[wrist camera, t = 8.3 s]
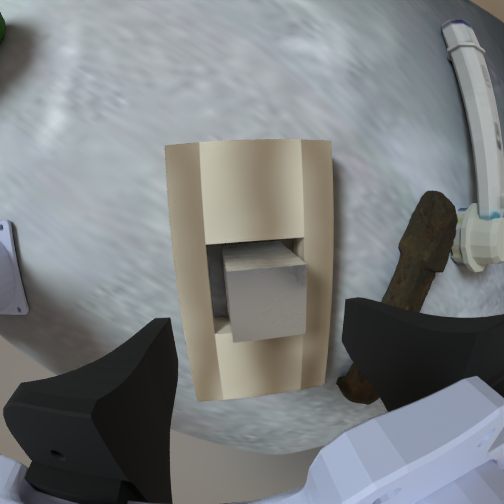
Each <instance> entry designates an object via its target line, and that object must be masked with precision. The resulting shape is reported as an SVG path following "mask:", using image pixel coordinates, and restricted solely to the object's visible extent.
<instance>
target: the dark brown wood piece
mask: <svg viewBox="0 0 504 504" xmlns="http://www.w3.org/2000/svg"><path fill="white" fill-rule="evenodd" d="M457 223H458V217H457V214H456V210H455V206H454V205H453V204H452V202H451V201H450V200H449V199H448V198H446V197H445V196H444V194H443V193H441V192H438V191H427V192H426V193H425V194H424V195H423V196H422V197H421V199H420V201H419V203H418V205H417V207H416V209H415V211H414V212H413V214H412V217H411V219H410V221H409V224H408V226H407V229H406V231H405V233H404V235H403V237H402V239H401V241H400V243H399V247H398V248H399V250H400V252H401V254H400V259H399V262H398V265H397V268H396V271H395V273H394V275H393V277H392V280H391V282H390V284H389V287H388V289H387V291H386V293H385V295H384V297H383V298H382V302H381V303H384V304H388V305H391V306H394V307H398V308H402V309H405V310H409V311H413V312H418V313H419V312H420V310H421V307H422V305H423V302H424V300H425V298H426V295H427V293H428V290H429V289H430V286H431V283H432V281H433V279H434V278H435V272H443V271H444V269H445V266H446V264H447V261H448V257H449V253H450V251H451V248H452V246H453V244H454V241H453V240H454V238H455V237H456V225H457ZM336 384H337V385H338V386H339V389H340V390H341V392H342V394H343V395H344V396H345V397H346V398H347V399H348V400H350V401H352V402H355V403H361V404H362V403H363V404H367V405H368V404H371V403H373V402H374V401H376V400H378V398H379V395H378V394H377V392H376V391H375V389H374V388H373V387H372V385H371V384H370V383H369V381H368V380H367V379H366V378H365V376H364V375H363V374H362V372H361V371H360V370H359V368H358V367H357V366H356V364H355V363H353V364H352V366H351V368H350V370H349V372H348V373H347V375H346V376H343V377H339V378H338V380H337V383H336Z"/></svg>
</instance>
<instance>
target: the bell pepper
mask: <svg viewBox="0 0 504 504" xmlns="http://www.w3.org/2000/svg"><path fill="white" fill-rule="evenodd" d="M4 32H5V21H4V19H3V17H2V15H1V13H0V43H1V41H2V39H3V37H4Z"/></svg>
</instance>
